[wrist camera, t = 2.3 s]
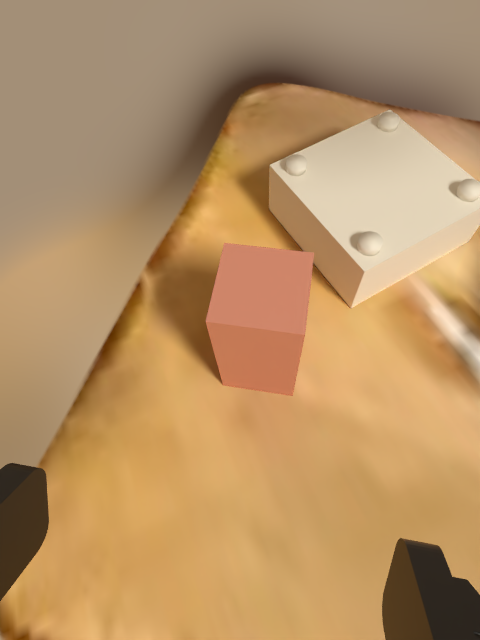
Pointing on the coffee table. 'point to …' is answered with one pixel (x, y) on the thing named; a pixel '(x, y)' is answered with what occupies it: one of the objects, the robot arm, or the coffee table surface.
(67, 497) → the coffee table surface
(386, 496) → the coffee table surface
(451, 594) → the robot arm
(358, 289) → the base brick
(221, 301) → the tall block
